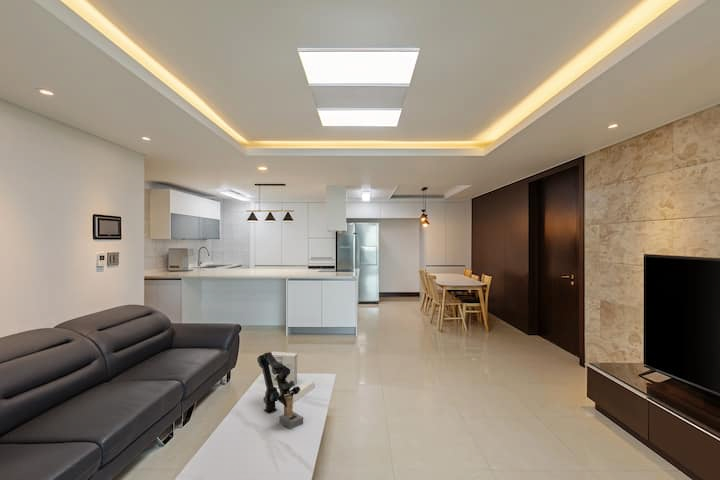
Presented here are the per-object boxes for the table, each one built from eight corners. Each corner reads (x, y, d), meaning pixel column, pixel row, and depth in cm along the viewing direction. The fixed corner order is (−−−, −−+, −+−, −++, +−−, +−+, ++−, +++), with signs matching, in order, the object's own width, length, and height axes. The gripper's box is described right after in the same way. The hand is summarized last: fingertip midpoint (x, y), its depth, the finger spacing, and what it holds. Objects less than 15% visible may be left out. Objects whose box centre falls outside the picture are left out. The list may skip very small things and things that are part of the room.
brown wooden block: (283, 415, 220) (284, 395, 220) (288, 413, 222) (289, 394, 222) (287, 418, 216) (287, 398, 216) (292, 416, 218) (292, 397, 218)
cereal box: (268, 384, 285) (269, 354, 286) (272, 381, 293) (272, 351, 293) (293, 386, 282) (294, 355, 282) (296, 383, 289) (297, 353, 290)
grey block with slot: (279, 422, 225) (279, 416, 225) (292, 417, 232) (292, 410, 233) (290, 429, 217) (290, 422, 217) (303, 423, 224) (303, 417, 224)
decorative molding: (279, 406, 254) (290, 405, 250) (278, 399, 254) (289, 398, 251) (305, 389, 285) (315, 387, 281) (303, 383, 286) (314, 381, 282)
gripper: (272, 380, 217) (279, 404, 208) (299, 373, 228) (307, 397, 219) (267, 388, 223) (273, 412, 214) (293, 381, 234) (300, 404, 226)
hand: (289, 406), depth 218 cm, fingers closed on brown wooden block, 3 cm apart
